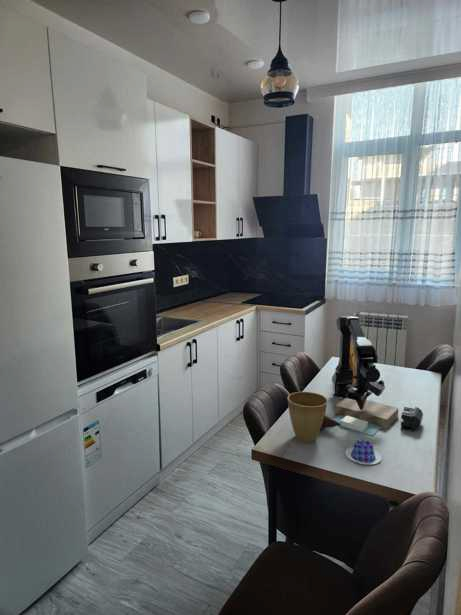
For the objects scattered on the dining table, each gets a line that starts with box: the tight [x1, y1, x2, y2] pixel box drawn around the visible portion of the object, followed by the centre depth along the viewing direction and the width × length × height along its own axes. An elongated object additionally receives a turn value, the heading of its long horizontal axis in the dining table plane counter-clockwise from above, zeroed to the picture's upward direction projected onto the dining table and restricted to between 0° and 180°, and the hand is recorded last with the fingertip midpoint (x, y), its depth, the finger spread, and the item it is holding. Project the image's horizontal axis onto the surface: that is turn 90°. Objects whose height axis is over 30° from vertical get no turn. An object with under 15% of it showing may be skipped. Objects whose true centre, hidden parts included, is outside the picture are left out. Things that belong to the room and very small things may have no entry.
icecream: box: [319, 415, 341, 431], centre depth 162 cm, size 7×7×15 cm
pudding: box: [345, 439, 382, 465], centre depth 142 cm, size 12×12×5 cm
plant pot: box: [287, 391, 328, 443], centre depth 154 cm, size 15×15×16 cm
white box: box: [340, 416, 368, 432], centre depth 164 cm, size 9×6×2 cm, turn 50°
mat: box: [333, 414, 382, 437], centre depth 165 cm, size 18×9×1 cm, turn 50°
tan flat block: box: [335, 398, 399, 429], centre depth 174 cm, size 22×14×4 cm, turn 50°
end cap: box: [400, 406, 424, 432], centre depth 164 cm, size 10×7×7 cm
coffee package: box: [337, 342, 357, 387], centre depth 213 cm, size 10×12×22 cm
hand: (361, 409), depth 169 cm, fingers closed
